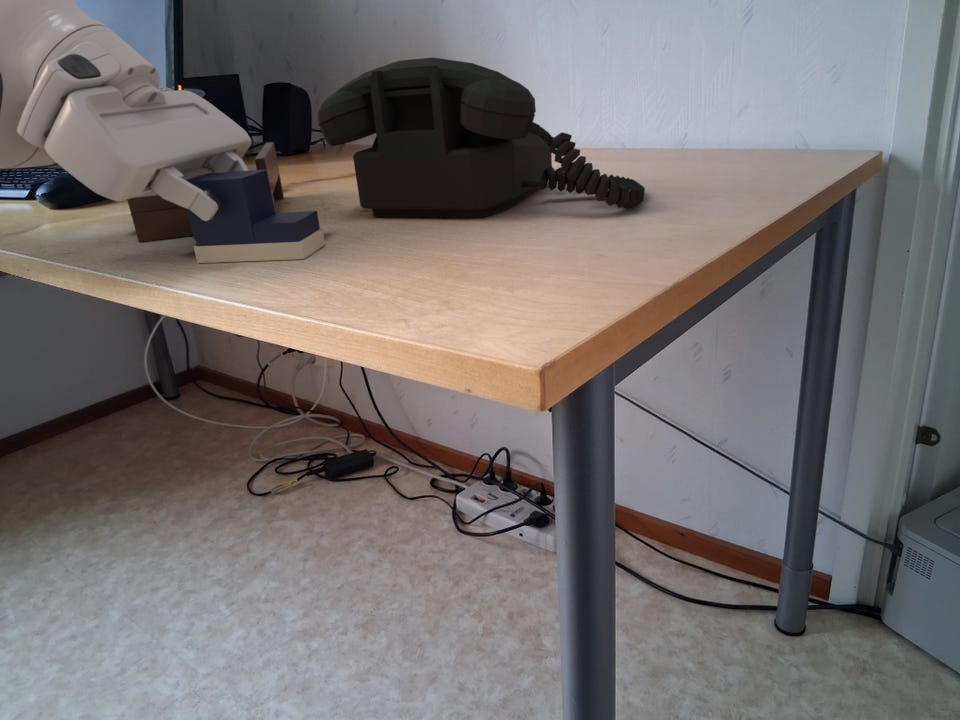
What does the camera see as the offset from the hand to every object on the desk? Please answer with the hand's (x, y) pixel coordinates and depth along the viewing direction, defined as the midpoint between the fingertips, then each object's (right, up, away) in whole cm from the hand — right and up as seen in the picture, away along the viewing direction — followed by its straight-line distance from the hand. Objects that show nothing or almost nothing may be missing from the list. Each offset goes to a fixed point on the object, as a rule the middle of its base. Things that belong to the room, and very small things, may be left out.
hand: (238, 204), depth 61 cm
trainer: (+2, -4, +2) cm, 5 cm away
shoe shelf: (-9, +3, +21) cm, 23 cm away
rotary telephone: (+23, +4, +16) cm, 29 cm away
